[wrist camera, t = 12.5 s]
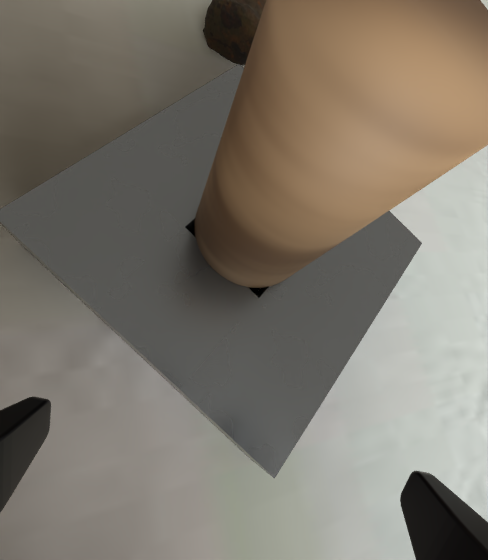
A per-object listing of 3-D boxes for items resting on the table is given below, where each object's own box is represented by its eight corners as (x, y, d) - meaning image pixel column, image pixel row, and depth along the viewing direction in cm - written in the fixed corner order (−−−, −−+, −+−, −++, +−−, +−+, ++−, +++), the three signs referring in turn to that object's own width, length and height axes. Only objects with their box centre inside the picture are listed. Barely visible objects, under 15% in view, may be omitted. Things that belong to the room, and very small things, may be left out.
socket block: (251, 460, 16) (274, 478, 13) (19, 242, 15) (-8, 214, 13) (387, 259, 22) (422, 243, 20) (227, 102, 22) (238, 63, 19)
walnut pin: (283, 305, 18) (548, 176, 6) (181, 291, 17) (276, 81, 5) (286, 215, 20) (493, -16, 8) (194, 194, 18) (286, -129, 7)
